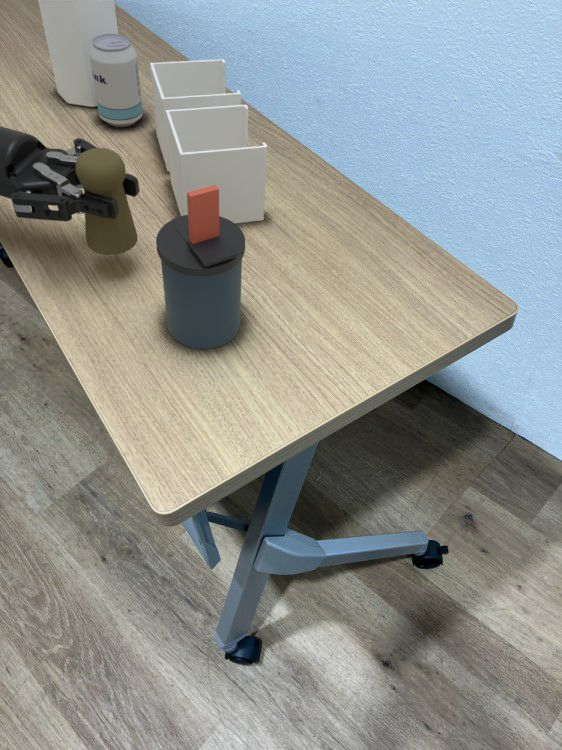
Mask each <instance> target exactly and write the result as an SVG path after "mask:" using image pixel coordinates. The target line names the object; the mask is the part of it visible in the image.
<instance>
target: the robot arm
mask: <svg viewBox="0 0 562 750" xmlns="http://www.w3.org/2000/svg"><path fill="white" fill-rule="evenodd" d="M94 148H98V147H97V146H96V145H94V144H92V143H90V142H89V141H87V140H85V139H84V138H81V137H80V138H79V137H78V138H75V139H73V146H72V147H70V148H68V149H67V150H65V149H62V148H51V147H50V148H49V147H47V145H45V144H44V143H43V142H42V141H40V139H39V138H37V137H36V136H34V135H33V134H29V133H26V132H23V131H20V130H15V129H12V128H8V127H6V126H1V125H0V196H1V197H4V198H6V199H9V200H11V203H12V207H13V209H14V213H15V216H16V217H17V218H19V219H33V220H41V221H42V220H44V221H54V222H55V221H56V222H69V221H71V220H72V219H73V215H76V214H77V215H83V214H85V213H89V214H92V215H96V216H99V217H102V218H111V219H115V218H116V217H117V216H118V215H119V210H118V203H117V201H116V200H115V199H113V198H109V197H106V196H102V195H99V194H95V193H92V192H89V191H86V192H85V193H84V191H83V190H84V186H83V185H82V184H81V183H80V181H79V179H78V177H77V175H76V161H77V159H78V157H79V156H80V154H82V153H83V152H85V151H87V150H90V149H94ZM122 184H123V187H124V191H125V194H126V196H130V197H132V198H133V197H137V196H138V195H139V193H140V183H139V180H138V178H137V177H136V176H135V175H133V174H130V173H127V172H125V179H124V181H123V183H122ZM50 206H55V207H57V209H58V210H57V209H51V208H49V207H50Z"/></svg>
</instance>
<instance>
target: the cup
mask: <svg viewBox="0 0 562 750" xmlns="http://www.w3.org/2000/svg"><path fill="white" fill-rule="evenodd" d="M37 2H38V6H39V7H38V8H39V11H40V15H41V20H42V26H43V31H44V34H45V39H46V44H47V49H48V53H49V58H50V63H51V68H52V72H53V77H54V82H55V88H56V92H57V94H58V95H59V96H60V97H61V98H62V99H63V100H64V101H65V102H66V103H67V104H69V105H75V106H81V107H89V108H96V107H98V106H97V99H96V93H95V87H94V81H93V74H92V68H91V62H90V56H89V53H90V50H91V47H92V40H93V39H94V38H95V37H97V36H99V35H103V34H119V31H118V29H119V28H118V23H117V15H116V6H115V0H37Z"/></svg>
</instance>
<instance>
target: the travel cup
mask: <svg viewBox="0 0 562 750" xmlns="http://www.w3.org/2000/svg"><path fill="white" fill-rule="evenodd" d="M219 233H220V234H221V235H222V236H223V237H224V239H225V240H226V241H227V242H228V243H229V245H230V246H231V247H232V248H233V249H234V251H235V252H236V253H237V257H235V258H232V259H229V260H226V261H223V262H220V263H217V264H214V265H210V266H207V267H204V266H203V265H202V263H201V262H200V261H199V260H198V258H197V257H196V256H195V254H194V253H193V252H192V250H191V249H190V248H189V246H188V245H187V241H188V240H189V225H188V215H184V216H181V215H180V216H178V217H175V218H173V219H170V220H169V221H167V222H166V223H165V224H163V226H162V227H160V229H159V231H158V233H157V235H156V240H155V245H156V252H157V255H158V257H159V259H160V263H161V275H162V283H163V292H164V293H163V294H164V303H165V304H164V305H165V313H166V323H167V329H168V332H169V334H170V335H171V337H172V338H173V339H174V340H175V341H176V342H178V344H181V345H182V346H185V347H188V348H191V349H196V350H210V349H216V348H219V347H222V346H224V345H227V344H228V343H229V342H231V341H232V340H233V339H234V338H235V337H236V335H237V334H238V333H239V331H240V327H241V303H242V269H243V268H242V267H243V265H242V264H243V258H244V256H245V254H246V253H245V252H246V251H245V250H246V237H245V234H244V232H243V231H242V229H241V228H240V227H239V226H238V225H237V223H233V222H232V221H230V220H228V219H226V218H223V217H221V216H219Z"/></svg>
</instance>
